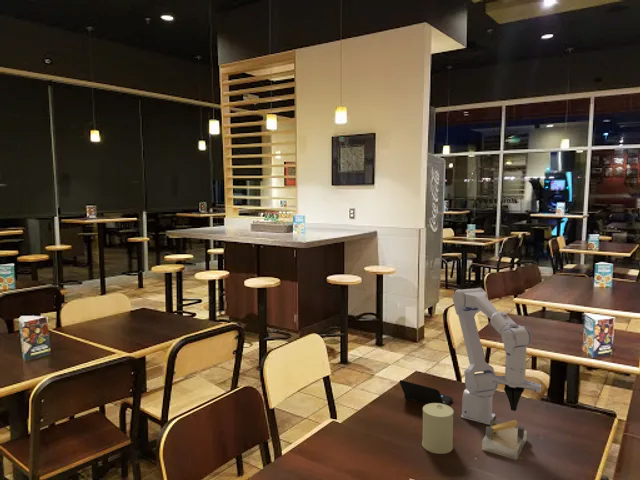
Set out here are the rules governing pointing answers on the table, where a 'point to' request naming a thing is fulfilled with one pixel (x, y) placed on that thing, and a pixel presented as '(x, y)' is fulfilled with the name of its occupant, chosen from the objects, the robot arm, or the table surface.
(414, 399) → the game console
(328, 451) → the table surface
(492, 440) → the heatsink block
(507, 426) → the golden yellow flat bar
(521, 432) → the lug
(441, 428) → the can
